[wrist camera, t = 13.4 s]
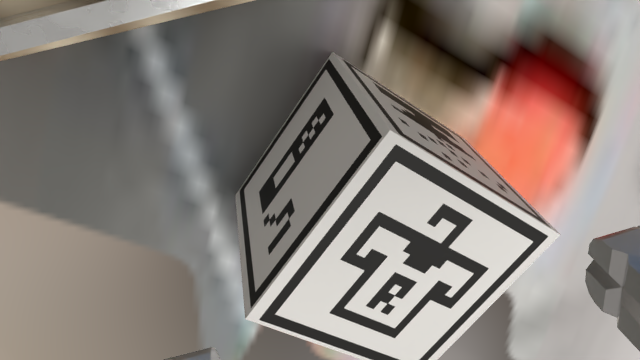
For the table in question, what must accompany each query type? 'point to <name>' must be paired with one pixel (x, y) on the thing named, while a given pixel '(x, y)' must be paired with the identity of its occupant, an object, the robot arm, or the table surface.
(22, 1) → the plate
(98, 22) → the silver rectangular frame
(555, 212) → the table surface
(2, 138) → the table surface
